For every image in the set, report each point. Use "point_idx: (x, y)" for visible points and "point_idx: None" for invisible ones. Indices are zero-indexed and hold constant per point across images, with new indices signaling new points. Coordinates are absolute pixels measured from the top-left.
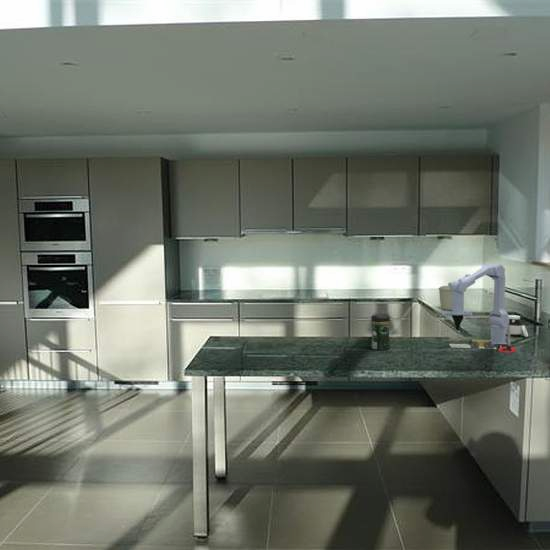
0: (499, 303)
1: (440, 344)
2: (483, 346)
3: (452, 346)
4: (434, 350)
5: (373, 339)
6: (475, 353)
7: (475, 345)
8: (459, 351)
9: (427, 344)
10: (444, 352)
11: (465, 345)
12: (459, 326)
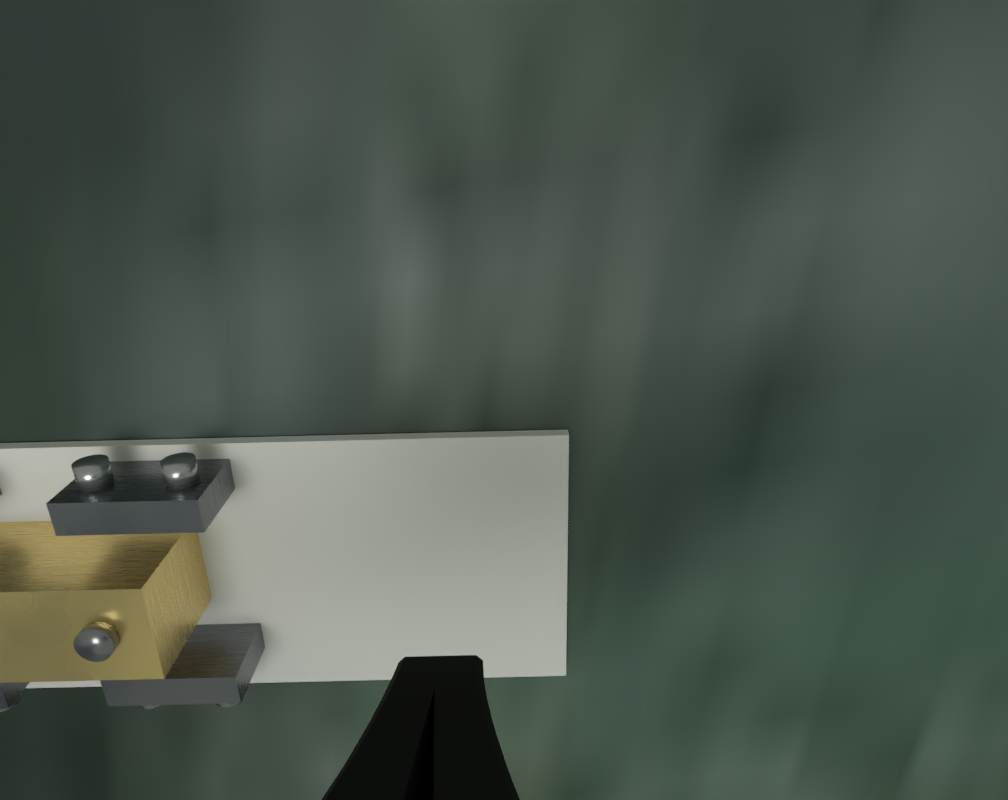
0: None
1: (695, 661)
2: (12, 529)
3: (537, 508)
4: (924, 188)
5: None
6: (138, 23)
7: (130, 480)
8: (449, 173)
9: (902, 634)
10: (769, 18)
11: (315, 607)
12: (368, 732)
